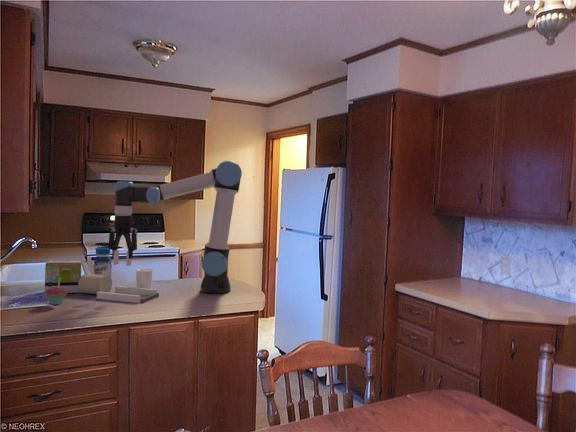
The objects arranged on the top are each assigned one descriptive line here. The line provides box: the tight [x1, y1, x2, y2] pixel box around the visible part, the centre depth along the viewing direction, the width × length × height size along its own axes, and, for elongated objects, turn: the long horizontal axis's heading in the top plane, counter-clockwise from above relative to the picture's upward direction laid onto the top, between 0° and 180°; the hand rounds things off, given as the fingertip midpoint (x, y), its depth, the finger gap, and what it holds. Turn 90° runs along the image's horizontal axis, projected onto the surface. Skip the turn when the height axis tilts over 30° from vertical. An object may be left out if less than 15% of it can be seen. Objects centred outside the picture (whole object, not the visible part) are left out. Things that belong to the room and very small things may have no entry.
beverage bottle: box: [93, 246, 113, 278], centre depth 215 cm, size 8×8×20 cm
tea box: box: [44, 259, 83, 294], centre depth 203 cm, size 15×10×15 cm, turn 114°
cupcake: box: [44, 277, 68, 306], centre depth 181 cm, size 9×8×12 cm
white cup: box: [135, 268, 154, 289], centre depth 212 cm, size 8×8×10 cm
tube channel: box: [96, 285, 157, 304], centre depth 197 cm, size 21×15×3 cm
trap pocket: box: [140, 292, 160, 304], centre depth 195 cm, size 6×14×2 cm, turn 168°
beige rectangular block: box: [78, 273, 113, 295], centre depth 200 cm, size 9×9×12 cm
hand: (122, 264), depth 197 cm, fingers open, 6 cm apart
